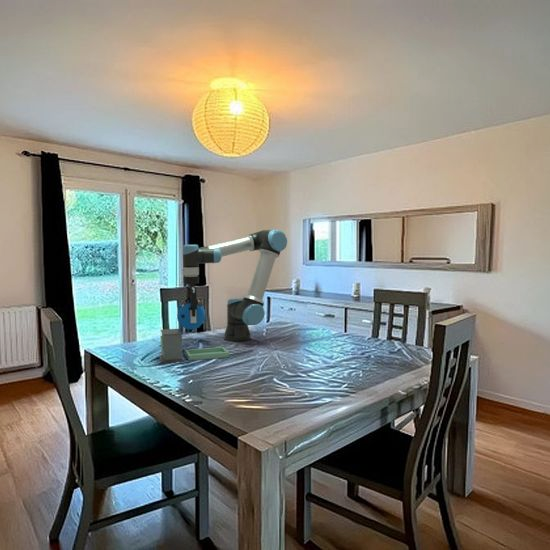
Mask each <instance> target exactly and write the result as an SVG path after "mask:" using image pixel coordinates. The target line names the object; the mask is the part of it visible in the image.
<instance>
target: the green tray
mask: <svg viewBox="0 0 550 550" xmlns="http://www.w3.org/2000/svg"><path fill="white" fill-rule="evenodd" d="M184 356H185V357H186V358H187V360H188V361H189V362H192V361H203V360H213V359H224V358H225V359H226V358H230V351H228V350H227V348H225V347H224V346H220V347H219V346H217V347H207V348H205V347H204V348H194V349H193V348H191V349H184Z"/></svg>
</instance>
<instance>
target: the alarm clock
mask: <svg viewBox="0 0 550 550" xmlns="http://www.w3.org/2000/svg"><path fill="white" fill-rule="evenodd" d="M187 302H189V300H188V299H187V298H185V299H183V298H182V300H181V301H180V302H179V306H180V308H179V309H178V312H177V321H178V323H179V324H180V326H181V327H183V329H186V330H196V329H197V328H199V329H200V327H201V326H202V324H203V323H205V319H206V310H205V308H204V306H203V305H204V303H203V302H204V301H202V300H201V299H200V298H197V309H196V323H191V317H190V310H189V309H191V304H190V302H189V303H187Z"/></svg>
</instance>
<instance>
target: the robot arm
mask: <svg viewBox="0 0 550 550" xmlns="http://www.w3.org/2000/svg"><path fill="white" fill-rule="evenodd" d="M287 245H288V238H287V236H286V234H285V232H283V231H282V230H281V229H263V230H260V231H259V230H258V231H256V232H253V233H249V234H247V235H246V236H245V237H242V238H237V239H232V240H228V241H223V242H219V243H215V244H210V245H207V246H202V247H201V246H200V247H199V245H198V244H183V246H182V263H183V264H182V266H183V268H182V270H181V271H182V273H183V282H182V283H183V284H184V285H187V286H186V299H188V300H189V302H190V304H191V309H189V310H190V317H191V323H196V309H197V299H198V298H197V297H198V296H197V290H198V289H197V288H196V287H195V286H196V285H197V284H200V276H199V275H200V267H199V266H200V265H199V264H216V263H217V264H218V263H220V262H222V261H221V260H222V258H223V257H225V256H232V255H234V254H239V253H242V252H246V251H249V252H254V251H259V253H260V255H259V259H258V261H257V264H256V267H255V271H254V274H253V278H252V280H251V283H250V286H249V289H248V293H247V294H246V295H245V296H244V297H243V298H240V297H239V298H230V299H228V300H227V305H226V306H227V308H226V309H227V310H226V311H227V316H226V318H227V319H226V321H227V324H226V327H225V328H226V329H225V330H224V334H223V339H224V340H225V341H230V342H231V341H232V342H243V341H244V342H245V341H249V340H250V339H251V336H252V335H251V331H250V328H249V326H256V325H259V324H261V323H262V321H263V320H264V318H265V315H266V314H265V313H266V311H265V308H264V305H265V302H264V300H263V299H264V296H265V292H266V289H267V287H268V283H269V281H270V277H271V275H272V274H271V273H272V270H273V268H274V264H275V262H276V259H277V258H279V257H280V255H281V252H282V251H284V250H285V249H286V248H287ZM189 302H187V303H189Z"/></svg>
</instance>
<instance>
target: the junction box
mask: <svg viewBox="0 0 550 550" xmlns="http://www.w3.org/2000/svg"><path fill="white" fill-rule="evenodd" d="M160 333H161V335H160V348H161V354H159V355H158V357H159V360H160V361H161V362H160V363H161V364H171V363H182V362H185V361H186V359H185V358H184V356H183V335H184V333H183V331H182V330H181V329H180V328H166V329H160Z"/></svg>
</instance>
